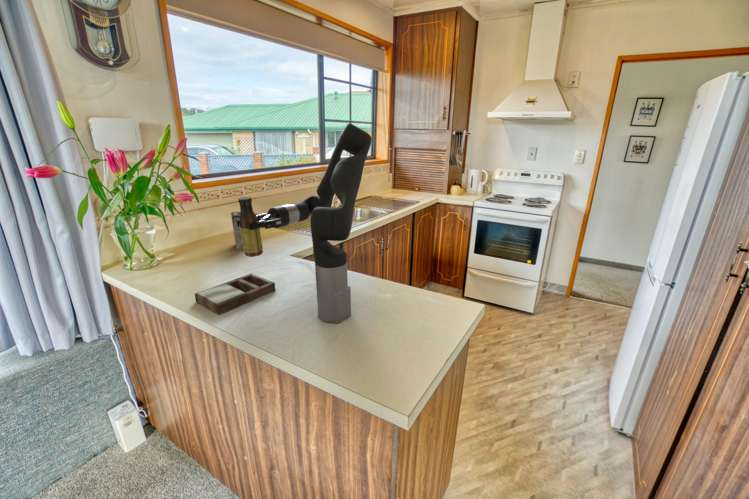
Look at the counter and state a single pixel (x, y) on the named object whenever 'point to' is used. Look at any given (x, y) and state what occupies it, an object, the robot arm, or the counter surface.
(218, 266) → the counter surface
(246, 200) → the sauce bottle
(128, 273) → the counter surface
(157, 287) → the counter surface
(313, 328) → the counter surface
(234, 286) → the board
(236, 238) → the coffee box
